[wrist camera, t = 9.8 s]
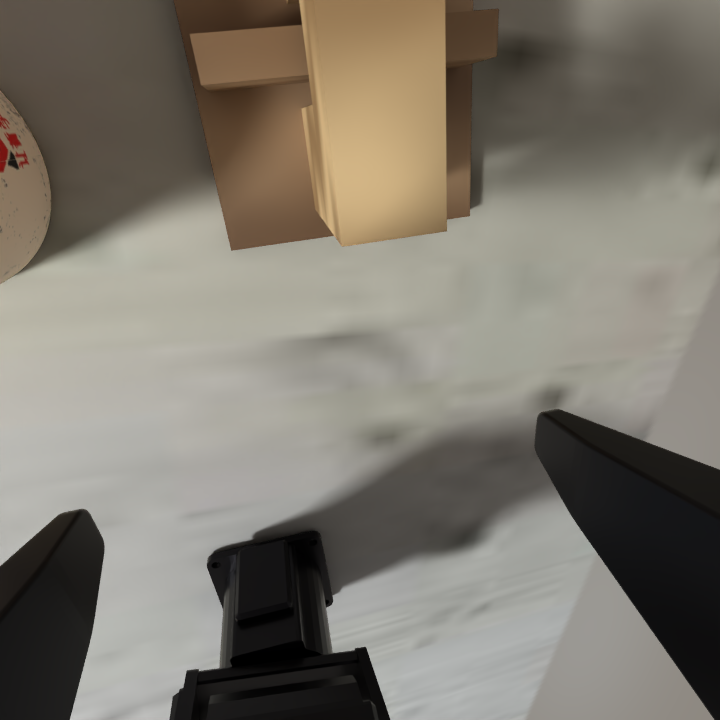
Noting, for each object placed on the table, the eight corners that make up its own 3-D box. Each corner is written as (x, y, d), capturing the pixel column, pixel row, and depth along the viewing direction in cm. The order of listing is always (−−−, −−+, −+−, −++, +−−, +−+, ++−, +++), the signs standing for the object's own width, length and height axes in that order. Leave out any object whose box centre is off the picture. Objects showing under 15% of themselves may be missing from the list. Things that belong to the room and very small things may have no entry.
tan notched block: (389, 199, 18) (446, 231, 13) (315, 209, 18) (342, 246, 12) (366, -148, 14) (442, -336, 8) (266, -145, 13) (274, -339, 8)
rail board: (462, 212, 20) (503, 229, 17) (232, 245, 19) (227, 271, 16) (465, -178, 14) (527, -267, 11) (137, -169, 13) (97, -269, 10)
